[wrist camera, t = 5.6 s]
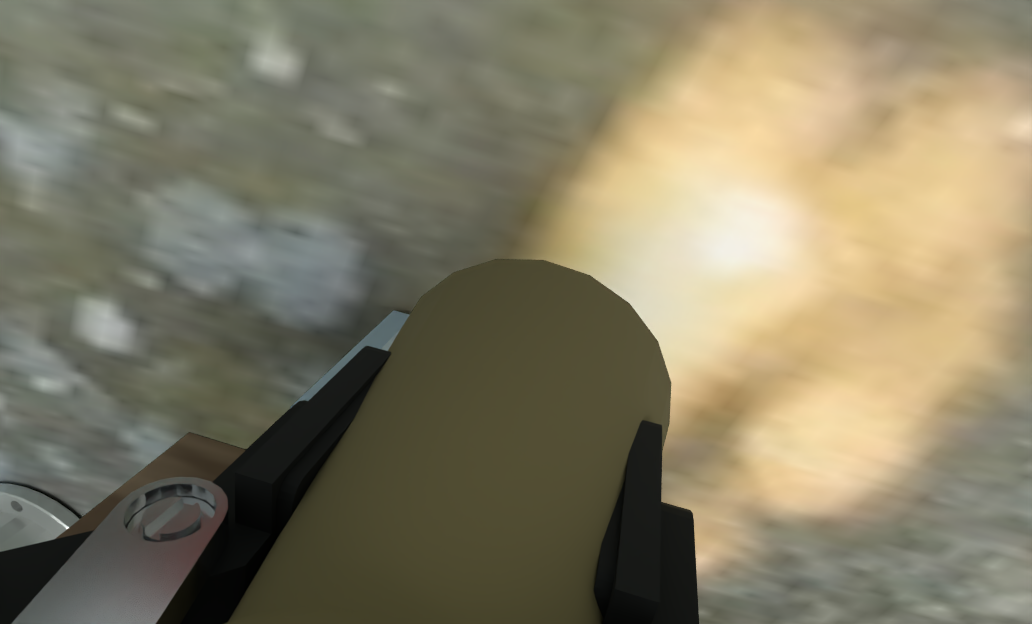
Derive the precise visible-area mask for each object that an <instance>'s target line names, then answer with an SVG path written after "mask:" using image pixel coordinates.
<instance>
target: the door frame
mask: <svg viewBox="0 0 1032 624" xmlns="http://www.w3.org/2000/svg"><path fill="white" fill-rule="evenodd" d="M245 451H246V450H244V449H241V448H238V447H235V446H232V445H228V444H225V443H222V442H219V441H215V440H212V439H209V438H206V437H203V436H199V435H196V434H193V433H190V432H189V433H188V434H187V435H185V436H184V437H183V438H182V439H180V440H179V441H178V442H176V443H175V444H174V445H173V446H171V447H170V448H169V449H168V450H166V451H165V452H164V453H163V454H161V455H160V456H159V457H158V458H156V459H155V460H154V461H153V462H151V463H150V464H149V465H147V466H146V467H145V468H144V469H142V470H141V471H140V472H139V473H137V474H136V475H135V476H134V477H132V478H131V479H130V480H129V481H127V482H126V483H125V484H124V485H122V486H121V487H120V488H118V489H117V490H116V491H115V492H113V493H112V494H111V495H110V496H108V497H107V498H106V499H105V500H103V501H102V502H101V503H100V504H98V505H97V506H96V507H95V508H93V509H92V510H91V511H89V512H88V513H87V514H86V515H84V516H83V517H82V518H81V519H79V520H78V521H77V522H76V523H74V524H73V525H72V526H71V527H69V528H68V529H67V530H66V531H64V532H63V533H62V534H60V535H59V536H58V537H57V538H55V539H58V538H62V537H66V536H71V535H75V534H79V533H84V532H88V531H92V530H95V529H96V528H97V527H98V526H99V525H100V524H101V522H102V521H103V520H104V519H105V518H106V517H107V516H108V515H109V513H110V512H111V511H112V510H113V509H114V508H115V507H116V506H117V504H118V503H119V502H120V501H122V500H123V499H124V498H125V497H126V496H128V495H129V494H130V493H131V492H133V491H135V490H137V489H138V488H140V487H142V486H144V485H146V484H149V483H152V482H155V481H159V480H162V479H167V478H174V477H196V478H201V479H204V480H207V481H211V482H213V481H214V480H215V479H216V478H217V477H218V476H219V475H220V474H221V473H222V472H223V471H224V470H225V469H226V468H228V467H229V466H230V465H231V464H232V463H233V462H234V461H235V460H236V459H237V458H238V457H239V456H240V455H241V454H242V453H243V452H245Z"/></svg>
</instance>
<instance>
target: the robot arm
mask: <svg viewBox="0 0 1032 624" xmlns="http://www.w3.org/2000/svg"><path fill="white" fill-rule="evenodd" d="M391 353H392V352H390V351H386V350H382V349H378V348H375V347H371V346H365V347H364V348H362V349H361V350H360V351H359V352H358V353H357V354H356V355H355V356H354V357H353V358H352V359H351V360H350V361H349V362H348V363H347V364H346V365H345V366H344V367H343V368H342V369H341V370H340V371H339V372H338V373H337V374H336V375H335V376H334V377H333V378H331V379H330V380H329V381H328V382H327V383H326V384H325V385H324V386H323V387H322V388H321V389H320V390H319V391H318V392H317V393H316V394H315V395H314V396H313V397H312V398H311V399H310V400H309V401H306V400H302V401H299V402H297V403H296V404H294V405H293V406H292V407H291V408H290V409H289V410H288V411H287V412H286V413H285V414H284V415H283V416H282V417H281V418H279V419H278V420H277V421H276V422H275V423H274V424H273V425H272V426H271V427H270V428H269V429H268V430H267V431H266V432H265V433H264V434H263V435H261V436H260V437H259V438H258V439H257V440H256V441H255V442H254V443H253V444H252V445H251V446H250V447H249V448H248V449H247V450H246V451H245V452H243V453H242V454H241V455H240V456H239V457H238V458H237V459H236V460H235V461H234V462H233V463H232V464H231V465H230V466H229V467H228V468H226V469H225V470H224V471H223V472H222V473H221V474H220V475H219V476H218V477H217V478H216V479H215V480H214V481H213V482H211V481H207V480H204V479H201V478H196V477H174V478H167V479H162V480H159V481H155V482H152V483H149V484H146V485H144V486H142V487H140V488H138V489H137V490H135V491H133V492H131V493H130V494H129V495H128V496H126V497H125V498H124V499H123V500H122V501H120V502H119V503H118V504H117V506H116V507H115V508H114V509H113V510H112V511H111V512H110V513H109V515H108V516H107V517H106V518H105V519H104V520H103V521H102V522H101V524H100V525H99V526H98V527H97V528H96V529H95V530H92V531H88V532H84V533H79V534H75V535H71V536H66V537H62V538H58V539H55V538H57V537H58V536H59V535H60V534H62V533H63V532H64V531H66V530H67V529H68V528H69V527H71V526H72V525H73V524H74V523H76V522H77V521H78V520H79V518H78V517H77V516H76V515H75V514H74V513H73V512H71V511H70V510H68V509H67V508H66V507H64V506H63V505H61V504H60V503H58V502H57V501H55V500H53V499H51V498H50V497H48V496H46V495H44V494H42V493H40V492H37V491H35V490H32V489H29V488H27V487H23V486H18V485H13V484H3V483H0V624H224V623H227V622H228V621H229V619H230V617H231V616H232V614H233V612H234V610H235V609H236V607H237V605H238V604H239V602H240V600H241V599H242V597H243V595H244V594H245V592H246V590H247V588H248V587H249V585H250V583H251V582H252V580H253V578H254V577H255V575H256V573H257V571H258V570H259V568H260V566H261V565H262V563H263V561H264V560H265V558H266V556H267V555H268V553H269V551H270V549H271V548H272V546H273V544H274V543H275V541H276V539H277V538H278V536H279V535H280V533H281V532H282V530H283V529H284V527H285V525H286V524H287V522H288V521H289V519H290V518H291V516H292V515H293V513H294V511H295V510H296V508H297V506H298V505H299V503H300V501H301V500H302V498H303V496H304V495H305V493H306V491H307V490H308V488H309V486H310V485H311V483H312V481H313V480H314V478H315V476H316V475H317V473H318V471H319V470H320V468H321V467H322V465H323V464H324V462H325V461H326V459H327V458H328V456H329V455H330V454H331V452H332V451H333V449H334V448H335V446H336V445H337V443H338V442H339V440H340V439H341V437H342V436H343V434H344V433H345V431H346V430H347V428H348V427H349V425H350V424H351V422H352V421H353V419H354V418H355V416H356V414H357V412H358V410H359V408H360V406H361V404H362V402H363V400H364V398H365V397H366V395H367V393H368V391H369V389H370V387H371V385H372V383H373V381H374V379H375V377H376V375H377V374H378V373H379V371H380V370H381V368H382V367H383V365H384V364H385V363H386V361H387V360H388V358H389V357H390V355H391ZM661 478H662V425H660V424H657V423H653V422H649V421H646V420H642V421H641V423H640V425H639V428H638V430H637V433H636V436H635V438H634V441H633V443H632V446H631V449H630V451H629V454H628V461H627V467H626V474H625V481H624V483H623V486H622V489H621V492H620V494H619V497H618V500H617V502H616V505H615V508H614V511H613V513H612V516H611V519H610V522H609V524H608V527H607V530H606V532H605V535H604V538H603V541H602V544H601V550H600V556H599V562H598V568H597V573H596V579H595V585H594V595H595V598H596V601H597V604H598V607H599V609H600V612H601V614H602V617H603V619H604V620H603V624H699V614H698V595H697V576H696V558H695V539H694V520H693V513H692V512H691V510H688V509H684V508H681V507H677V506H674V505H670V504H667V503H663V502H661Z"/></svg>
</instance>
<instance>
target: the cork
mask: <svg viewBox="0 0 1032 624" xmlns="http://www.w3.org/2000/svg"><path fill="white" fill-rule="evenodd" d="M388 351H390V352H392V353H391V355H390V357H389V358H388V360H387V361H386V363H385V364H384V365H383V367H382V368H381V370H380V371H379V373H378V374H377V375H376V377H375V379H374V381H373V383H372V385H371V387H370V389H369V391H368V393H367V395H366V397H365V398H364V400H363V402H362V404H361V406H360V408H359V410H358V412H357V414H356V416H355V418H354V419H353V421H352V422H351V424H350V425H349V427H348V428H347V430H346V431H345V433H344V434H343V436H342V437H341V439H340V440H339V442H338V443H337V445H336V446H335V448H334V449H333V451H332V452H331V454H330V455H329V456H328V458H327V459H326V461H325V462H324V464H323V465H322V467H321V468H320V470H319V471H318V473H317V475H316V476H315V478H314V480H313V481H312V483H311V485H310V486H309V488H308V490H307V491H306V493H305V495H304V496H303V498H302V500H301V501H300V503H299V505H298V506H297V508H296V510H295V511H294V513H293V515H292V516H291V518H290V519H289V521H288V522H287V524H286V525H285V527H284V529H283V530H282V532H281V533H280V535H279V536H278V538H277V539H276V541H275V543H274V544H273V546H272V548H271V549H270V551H269V553H268V555H267V556H266V558H265V560H264V561H263V563H262V565H261V566H260V568H259V570H258V571H257V573H256V575H255V577H254V578H253V580H252V582H251V583H250V585H249V587H248V588H247V590H246V592H245V594H244V595H243V597H242V599H241V600H240V602H239V604H238V605H237V607H236V609H235V610H234V612H233V614H232V616H231V617H230V619H229V621H228V622H227V623H224V624H603V620H604V619H603V617H602V614H601V612H600V609H599V607H598V604H597V601H596V598H595V595H594V585H595V579H596V573H597V568H598V562H599V556H600V550H601V544H602V541H603V538H604V535H605V532H606V530H607V527H608V524H609V522H610V519H611V516H612V513H613V511H614V508H615V505H616V502H617V500H618V497H619V494H620V492H621V489H622V486H623V483H624V481H625V474H626V467H627V461H628V454H629V451H630V449H631V446H632V443H633V441H634V438H635V436H636V433H637V430H638V428H639V425H640V423H641V421H642V420H646V421H649V422H653V423H657V424H660V425H662V450H663V446H664V442H665V439H666V435H667V431H668V427H669V419H670V398H671V381H670V378H669V374H668V371H667V368H666V365H665V362H664V359H663V356H662V353H661V350H660V347H659V343H658V341H657V339H656V338H655V337H654V335H653V334H652V333H651V331H650V330H649V329H648V327H647V326H646V325H645V323H644V322H643V321H642V319H641V318H640V317H639V315H638V314H637V313H636V312H635V310H634V309H633V308H632V306H631V305H630V304H629V303H628V302H627V301H625V300H624V299H622V298H621V297H619V296H618V295H617V294H615V293H614V292H612V291H611V290H610V289H608V288H607V287H605V286H604V285H603V284H601V283H600V282H598V281H597V280H596V279H594V278H593V277H591V276H590V275H587V274H584V273H581V272H578V271H575V270H572V269H569V268H566V267H563V266H560V265H557V264H554V263H551V262H548V261H545V260H514V259H495V260H492V261H489V262H485V263H482V264H479V265H476V266H473V267H469V268H466V269H463V270H460V271H456V272H454V273H452V274H451V275H450V276H448V277H447V278H446V279H444V280H443V281H442V282H440V283H439V284H438V285H436V286H435V287H434V288H432V289H431V290H430V291H428V292H427V293H426V294H424V295H423V296H422V297H421V298H420V299H419V301H418V303H417V304H416V306H415V307H414V309H413V310H412V312H411V314H410V315H409V317H408V318H407V320H406V321H405V323H404V325H403V326H402V328H401V329H400V331H399V333H398V334H397V336H396V338H395V339H394V341H393V343H392V345H391V346H390V348H389V350H388Z"/></svg>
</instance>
